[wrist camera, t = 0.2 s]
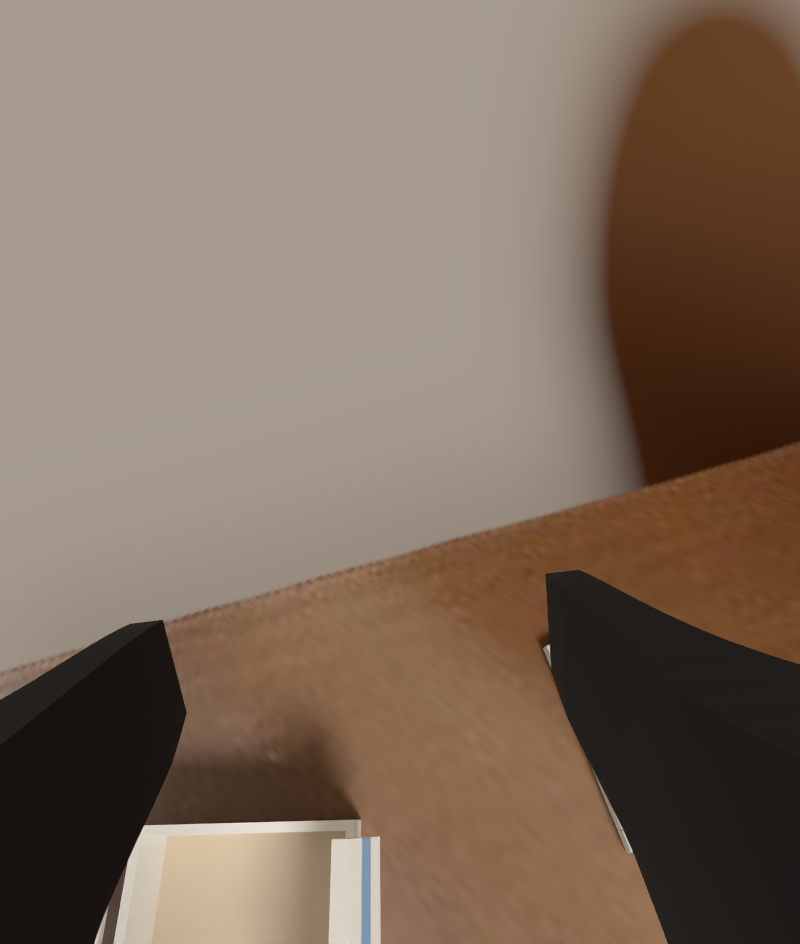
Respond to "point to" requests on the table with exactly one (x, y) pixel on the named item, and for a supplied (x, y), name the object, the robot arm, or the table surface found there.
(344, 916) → the flap
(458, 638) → the table surface
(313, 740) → the table surface
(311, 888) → the carton
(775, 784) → the robot arm
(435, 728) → the table surface
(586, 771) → the table surface
